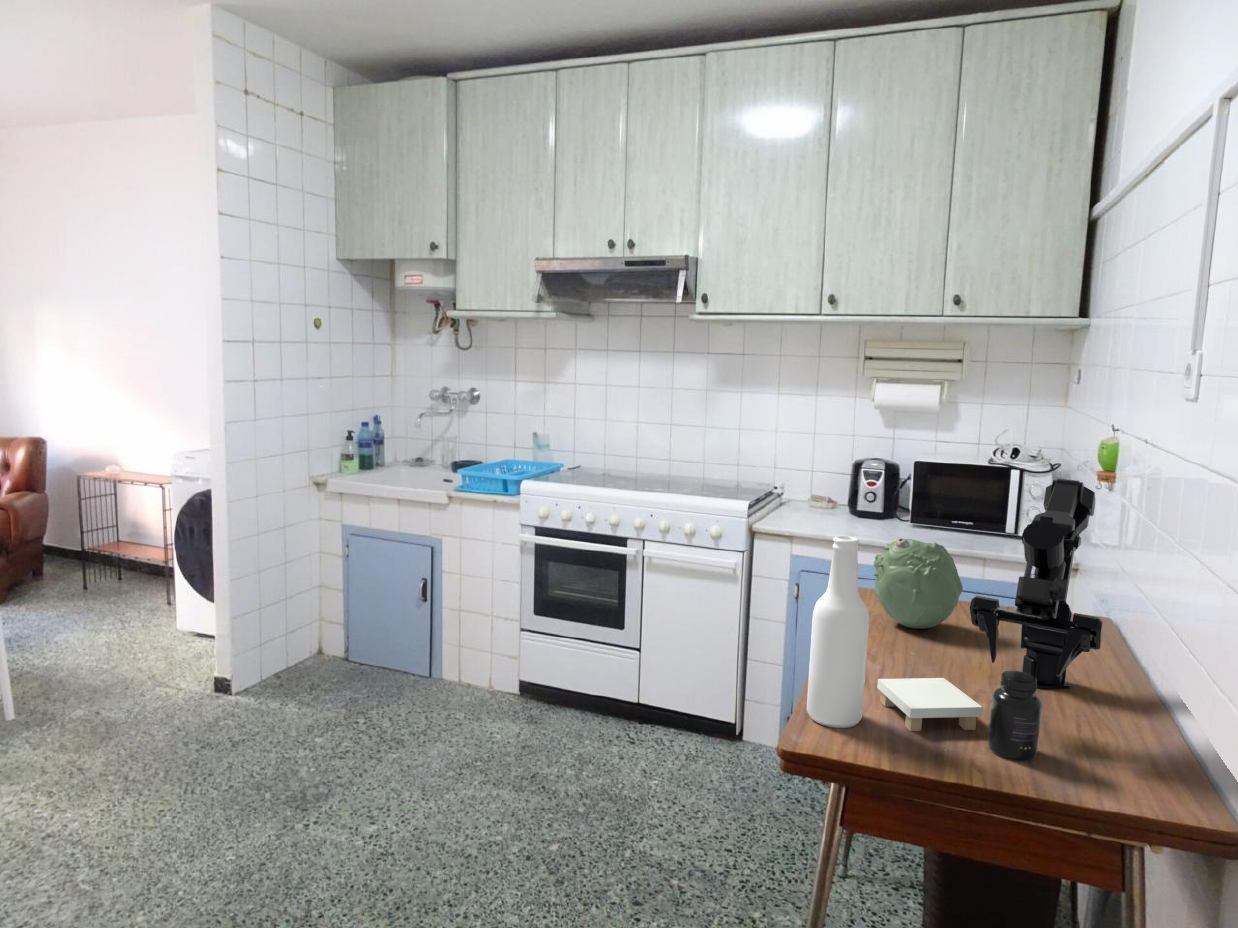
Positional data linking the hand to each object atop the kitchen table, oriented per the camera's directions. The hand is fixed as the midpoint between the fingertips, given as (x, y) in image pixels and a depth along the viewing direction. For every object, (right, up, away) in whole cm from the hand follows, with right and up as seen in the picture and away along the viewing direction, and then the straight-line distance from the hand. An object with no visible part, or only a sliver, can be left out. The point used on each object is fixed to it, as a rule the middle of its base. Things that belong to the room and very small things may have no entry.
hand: (1024, 668), depth 127 cm
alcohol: (-28, -10, +7) cm, 30 cm away
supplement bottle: (-3, -12, -3) cm, 13 cm away
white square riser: (-12, -10, +9) cm, 18 cm away
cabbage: (+3, -5, +56) cm, 56 cm away
